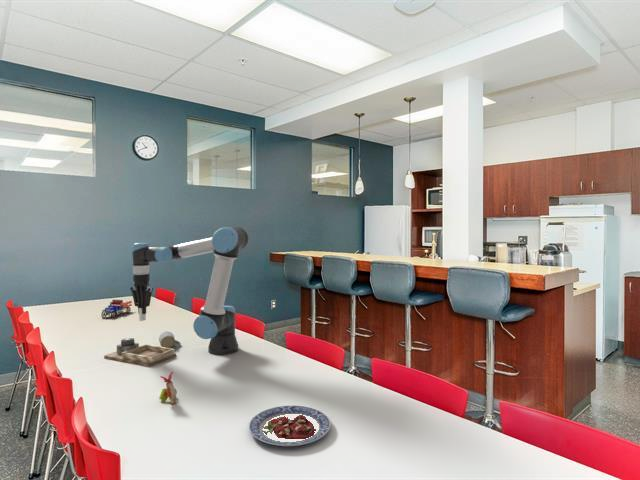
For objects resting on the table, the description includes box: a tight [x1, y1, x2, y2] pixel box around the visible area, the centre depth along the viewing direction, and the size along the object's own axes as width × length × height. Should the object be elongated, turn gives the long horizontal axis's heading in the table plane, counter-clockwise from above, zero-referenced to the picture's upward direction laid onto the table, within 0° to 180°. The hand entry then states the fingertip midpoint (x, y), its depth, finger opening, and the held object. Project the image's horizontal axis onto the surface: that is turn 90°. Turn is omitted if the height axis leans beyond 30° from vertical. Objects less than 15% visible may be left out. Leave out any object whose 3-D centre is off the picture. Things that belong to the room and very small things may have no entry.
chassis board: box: [103, 342, 177, 368], centre depth 198 cm, size 29×17×5 cm, turn 67°
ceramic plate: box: [248, 405, 332, 447], centre depth 129 cm, size 26×26×3 cm
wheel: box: [120, 337, 135, 346], centre depth 201 cm, size 6×6×6 cm
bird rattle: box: [158, 371, 178, 405], centre depth 148 cm, size 6×11×9 cm
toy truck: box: [101, 299, 133, 319], centre depth 289 cm, size 8×25×11 cm, turn 173°
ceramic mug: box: [158, 330, 182, 349], centre depth 215 cm, size 11×8×8 cm
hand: (142, 320), depth 205 cm, fingers closed
